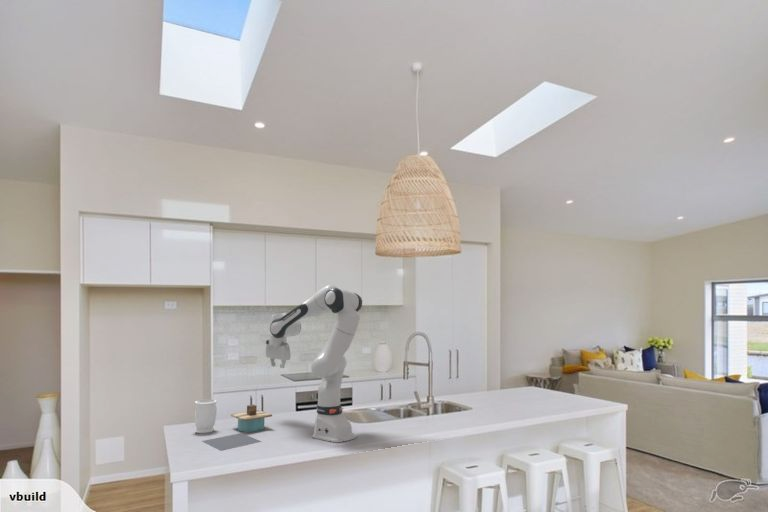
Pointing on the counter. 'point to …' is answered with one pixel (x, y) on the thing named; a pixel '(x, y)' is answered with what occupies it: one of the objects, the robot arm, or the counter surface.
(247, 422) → the bowl
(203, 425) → the jar
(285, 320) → the robot arm
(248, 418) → the lid
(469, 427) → the counter surface
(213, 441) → the mat
